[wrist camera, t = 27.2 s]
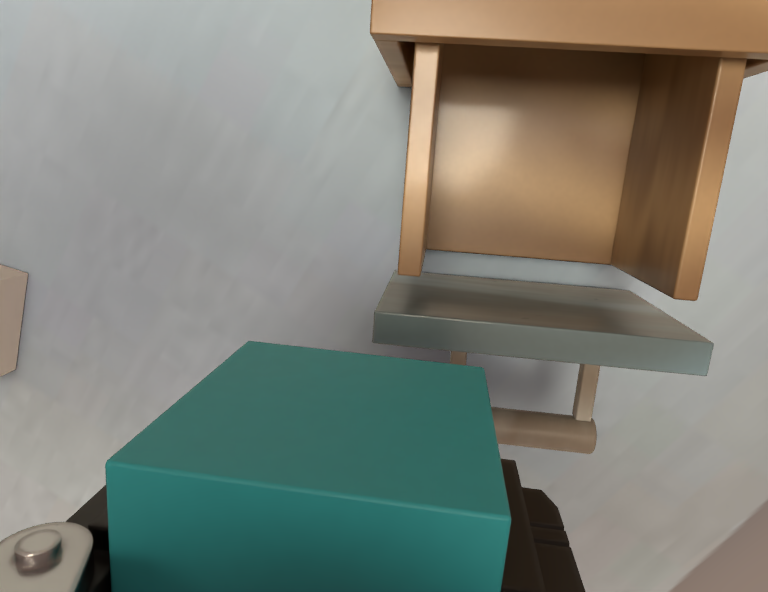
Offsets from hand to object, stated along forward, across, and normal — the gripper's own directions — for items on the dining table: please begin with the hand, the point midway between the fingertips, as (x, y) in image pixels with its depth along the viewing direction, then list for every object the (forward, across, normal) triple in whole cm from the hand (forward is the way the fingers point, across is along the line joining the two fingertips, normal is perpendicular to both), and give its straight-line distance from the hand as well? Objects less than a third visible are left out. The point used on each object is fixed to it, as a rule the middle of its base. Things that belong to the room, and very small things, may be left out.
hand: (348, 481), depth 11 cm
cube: (+1, 0, 0) cm, 1 cm away
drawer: (+17, -5, -5) cm, 18 cm away
